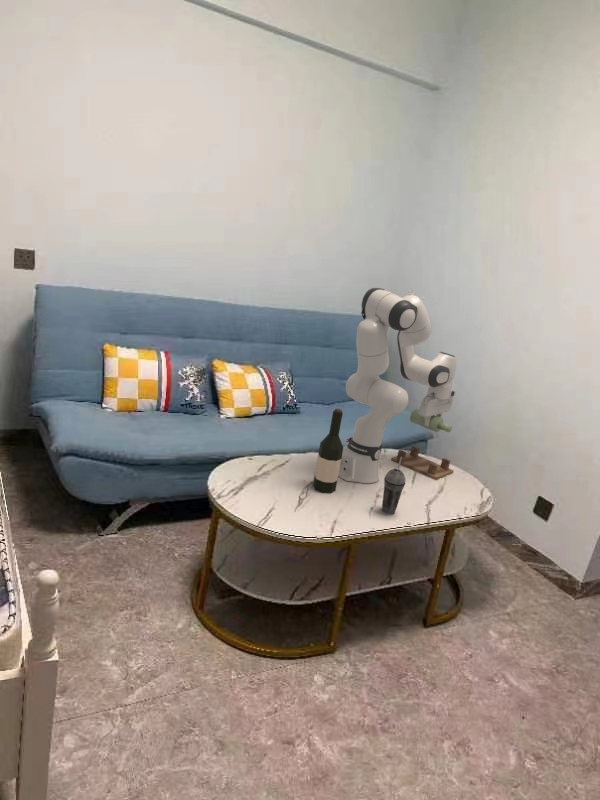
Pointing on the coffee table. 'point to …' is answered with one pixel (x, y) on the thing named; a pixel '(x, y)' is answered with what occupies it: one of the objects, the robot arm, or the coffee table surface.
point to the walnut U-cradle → (423, 464)
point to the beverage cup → (392, 490)
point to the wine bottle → (329, 457)
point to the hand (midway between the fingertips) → (431, 424)
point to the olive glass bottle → (435, 422)
